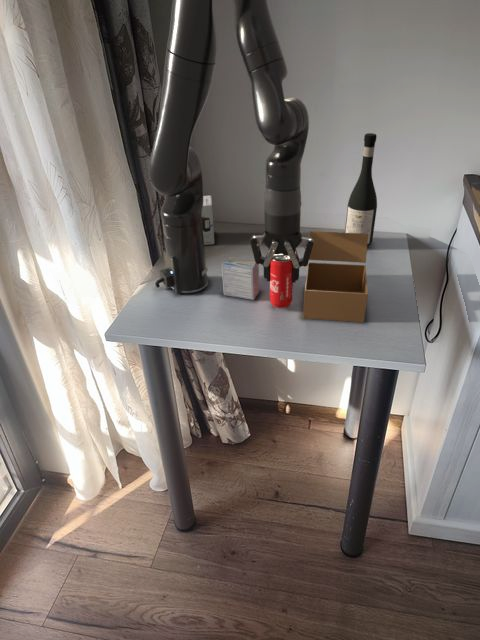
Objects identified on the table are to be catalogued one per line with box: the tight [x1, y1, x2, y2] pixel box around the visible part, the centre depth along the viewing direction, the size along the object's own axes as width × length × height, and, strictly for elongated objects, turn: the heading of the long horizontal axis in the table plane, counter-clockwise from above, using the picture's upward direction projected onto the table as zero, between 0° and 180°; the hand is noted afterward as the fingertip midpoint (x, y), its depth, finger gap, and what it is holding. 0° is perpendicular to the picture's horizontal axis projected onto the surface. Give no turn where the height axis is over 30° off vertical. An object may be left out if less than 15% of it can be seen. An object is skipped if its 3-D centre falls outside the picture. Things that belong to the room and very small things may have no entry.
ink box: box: [202, 195, 216, 246], centre depth 140 cm, size 9×5×12 cm, turn 6°
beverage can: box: [269, 254, 294, 309], centre depth 109 cm, size 5×5×12 cm
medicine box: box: [221, 256, 260, 301], centre depth 115 cm, size 8×4×9 cm, turn 71°
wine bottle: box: [344, 132, 378, 248], centre depth 131 cm, size 8×8×30 cm
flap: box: [309, 230, 368, 264], centre depth 113 cm, size 7×14×1 cm
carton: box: [302, 261, 369, 323], centre depth 111 cm, size 14×14×7 cm
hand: (281, 280), depth 109 cm, fingers closed on beverage can, 5 cm apart
